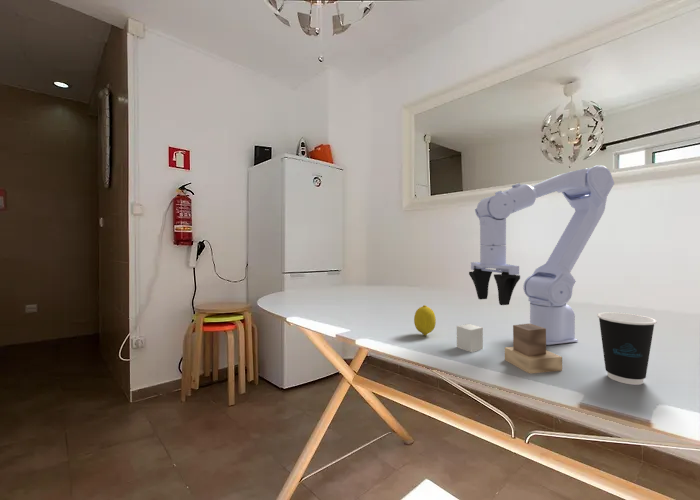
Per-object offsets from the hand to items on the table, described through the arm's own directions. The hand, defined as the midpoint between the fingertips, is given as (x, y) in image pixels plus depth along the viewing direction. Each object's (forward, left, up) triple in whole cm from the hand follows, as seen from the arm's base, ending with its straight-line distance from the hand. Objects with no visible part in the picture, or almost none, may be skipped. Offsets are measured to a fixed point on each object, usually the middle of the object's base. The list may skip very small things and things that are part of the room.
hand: (492, 301), depth 77 cm
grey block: (+8, +2, -10) cm, 13 cm away
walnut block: (+3, +14, -7) cm, 16 cm away
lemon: (+13, -10, -10) cm, 19 cm away
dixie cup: (-8, +24, -10) cm, 27 cm away
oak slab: (+2, +14, -10) cm, 18 cm away
